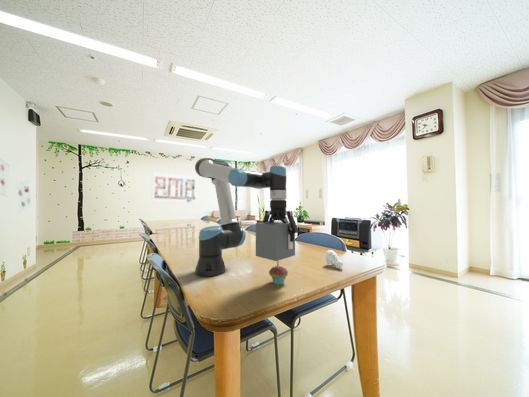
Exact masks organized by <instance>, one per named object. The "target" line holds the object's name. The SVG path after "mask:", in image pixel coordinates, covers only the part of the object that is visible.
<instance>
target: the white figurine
mask: <svg viewBox="0 0 529 397" xmlns="http://www.w3.org/2000/svg"><path fill="white" fill-rule="evenodd" d="M324 259H325V262H326V267H328V266H330V265H333V266H335V269H339V270H341V269H342V268H343V266H344V264H343V261H341V259H340V258H339V257H338V254H337V253H336V252H335V251H334V250H332V249H329V250H327V251H326V252H325V254H324Z"/></svg>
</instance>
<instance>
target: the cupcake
mask: <svg viewBox="0 0 529 397" xmlns="http://www.w3.org/2000/svg"><path fill="white" fill-rule="evenodd" d="M279 261H280V260H278V261H276V265H275V266H273V267H271V268H270V269H269V271H268V274H269V276H270V277H271V280H272V281H273V284H274V285H279V286H280V285H283V284H285V279H286V278H287V277H288V274H289V271H288V270H287V268H285V267H283V266H280V265H279Z"/></svg>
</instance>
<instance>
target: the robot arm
mask: <svg viewBox="0 0 529 397" xmlns="http://www.w3.org/2000/svg"><path fill="white" fill-rule="evenodd" d="M194 170H195V173H196V174H197V175H198V176H200V177H202V178H207V179H211V183H212V184H213V185H214V186H215V193H216V199H217V205H218V208H219V209H218V211H219V215H220V224H219V225H213V226H212V225H211V226H206V227H203V228H202V229H200V231H199V234H198V260H197V263H196V265H195V270H194V271H195V275H196V276H199V277H207V278H208V277H214V276H215V277H217V276H219V275H222V274H224V273H225V272H226V265H225V262H224V257H223V250H227V249H232V248H237V247H240V246H241V247H242V246H243V244H244V243H245V240H246V237H247V235H246V233H247V232H246V229H245V228H244V227H243V226H241V225H240V221H238V220H237V218H236V214H235V213H236V212H235V207H234V203H233V198H232V191H231V187H230V185H231V186H233V187H238V188H240V187H242V188H253V189H258V190H261V189H269V199H270V201H269V208H270V210H269V209H267V210H265V211H264V216H263V219H262V222H274V221H280V222H283V223H289V222H290V225H291V226H288V232H289V234H288V249H289V250H290V249H293V241H294V234H295V235H296V234H297V233H299V229H298V227H297V223H296V222H295V221H296V220H295V218H294V216H293V211H292V210H287V169H286V166H284V165H272V166H270V167H269V171H267V172H258V171H253V170H246V169H241V168H238V167H237V168H236V167H233V165H232V164H231V163H230V162H228V161H225V160H221V159H219V160H218V159H215V158H209V157H204V158H200V159H199V160H197V161H196V163H195V165H194ZM286 216H287V217H286Z"/></svg>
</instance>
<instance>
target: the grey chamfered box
mask: <svg viewBox="0 0 529 397" xmlns="http://www.w3.org/2000/svg"><path fill="white" fill-rule="evenodd" d="M288 222H289V221H288ZM288 226H291V225H290V222H289V223H283V222H282V221H279V220H275V221H274V222H263V221H262V222H255V257H258V258H263V259H266V260H271V261H273V262H277V261H281V260H284V259H287V258H291V257H295V256H296V233H295V234H294V241H293V249H290V250H289V249H288V234H289V232H288Z"/></svg>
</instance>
